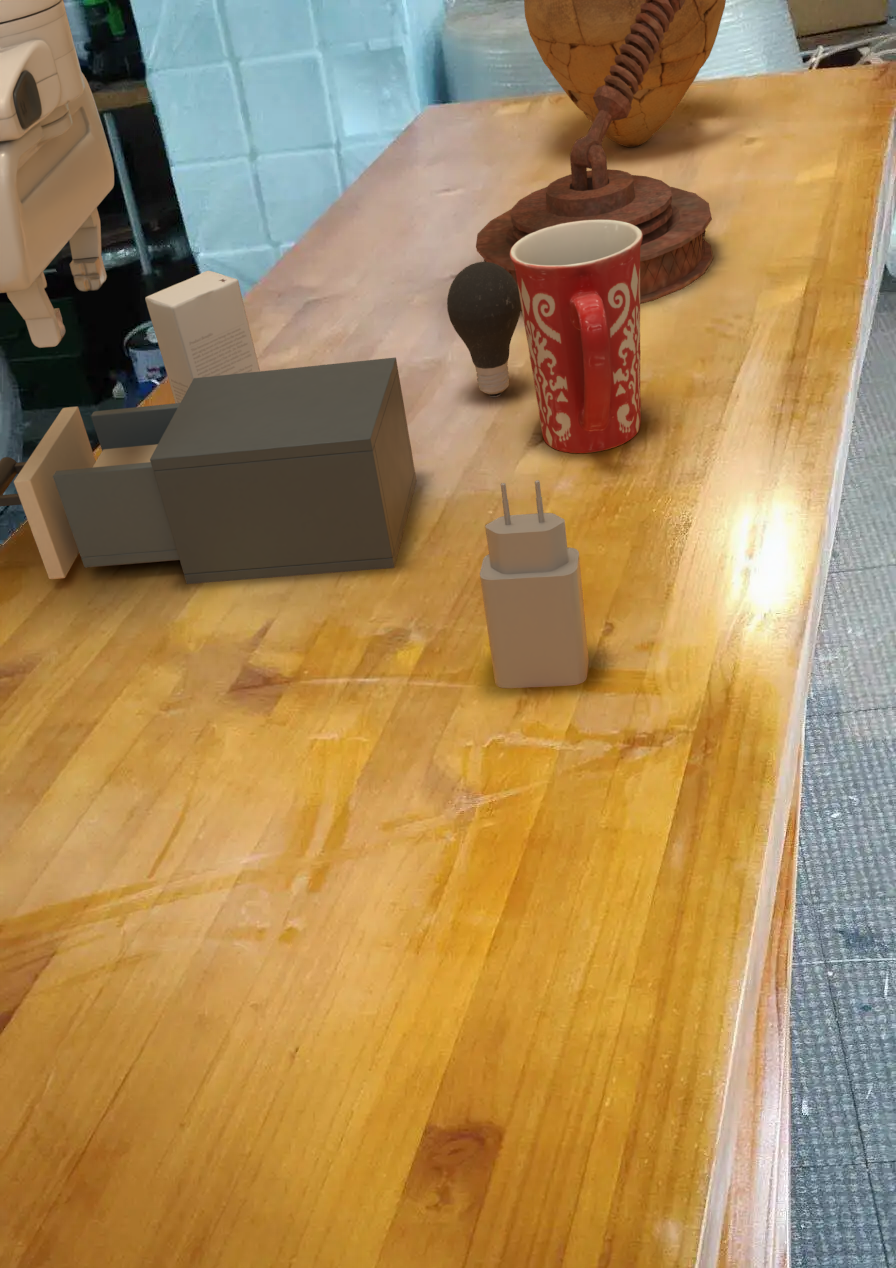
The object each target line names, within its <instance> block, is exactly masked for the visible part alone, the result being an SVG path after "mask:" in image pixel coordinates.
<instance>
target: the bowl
mask: <svg viewBox="0 0 896 1268" xmlns="http://www.w3.org/2000/svg"><path fill="white" fill-rule="evenodd" d="M645 1H646V0H523V4H524V5H523V7H524V8H523V9H524V17H525V22H526V26H527V29H528V33H529V36H530V38H531V40H532V42H533V44H534V46H535V48H536V50H537V52H538V54H539V56H540V58H541V60H542V62H543V64H544V65H545V66H546V67H547V69H548V70H549V71H550V73H551V75H552V77H553V78H554V80H556V82H557V83H558V85H559V86H560V87H561V88H562V90H563V91H564V92H565V94H566V95H567V96H568V98H569V99H570V100H571V101H572V102H573V103H574V105H575V106H576V107H577V108H578V110H580V111H581V112H582V113H583V114H584V115H585V117H586V118H587V120H589V122H590V123H591V125H592V124H593V122H594V120H595V118H596V116H597V114H598V112H599V111H598V109H597V107H596V105H595V102H594V99H593V96H594V94H595V92H596V90H597V88H598V87H601V86H603V85H605V81H604V79H605V77H606V76H607V75H611V73H610V66H612V65H616V63H615V56H617V55H621V54H620V50H619V48H620V46H621V45H622V44H626V43H625V37H626V36H627V35H628V34H629V33H631V30H630V26H631V25H633V24H636V21H635V19H636V15H637V14H639V13H640V6H641V4H642V3H646V2H645ZM726 2H727V0H686V1H685V3H684V4H683V6H682V8H681V9H680V10H678V11H677V12H676V13H675V15H674V19H673V22H671V23H670V25H669V30H668V31H667V32H665V33H664V40H663V41H662V42H661V43H659V50H658V51H657V52H656V53H655V54H654V60H653V61H652V62H651V63H650V64H649V67H648V71H647V72H646V73H645V75H643V78H644V80H643V82H642V83H641V84H640V85H638V89H639V90H638V91H637V93H636V94H634V95H633V100H632V104H631V110H630V112H629V114H628V116H627V118H624V119H621V120H614V121H612V122H611V124H610V126H609V128H608V130H607V132H606V134H605V136H604V137H606V138H607V139H609V140H611V141H613V142H615V143H616V144H619V145H621V146H623V147H627V148H636V147H638V146H641V145H643V144H644V143H647V142H648V141H649V140H650V139H651V138H652V137H653V136H654V135H655V134H656V133H657V132H658V131H659V130H660V128H662V126H663V125H664V124H666V123H667V121H668V120H669V119H670V118H671V116H672V115H673V113H674V111H675V110H676V109H677V107H678V106H679V104H680V102H681V101H682V100H683V98H684V97H685V95H686V93H687V91H688V90H689V88H690V87H691V85H693V83H694V81H695V79H696V78H697V76H698V74H699V72H700V71H701V69H702V68H703V67H704V65H705V64H706V62H707V60H709V57H710V55H711V53H712V50H713V47H714V46H715V42H716V40H717V37H718V33H719V29H720V25H721V22H722V18H723V15H724V11H725V8H726ZM645 57H646V55H645ZM639 67H641V66H639ZM634 77H635V76H634ZM635 78H636V77H635ZM629 87H630V88H631V86H629ZM625 97H626V96H625Z"/></svg>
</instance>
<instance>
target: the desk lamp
mask: <svg viewBox="0 0 896 1268" xmlns="http://www.w3.org/2000/svg"><path fill="white" fill-rule="evenodd" d="M685 1H686V0H646V1H645V2H646V3H642V4H641V6H640V13H639V14H637V15H636V19H635V21H636V24H633V25H631V26H630V30H631V33H629V34H628V35H627V36H626V37H625V43H626V44H622V45H621V46H620V48H619V50H620V54H621V55H617V56H615V63H616V65H612V66H610V73H611V75H607V76H606V77H605V79H604V81H605V85H603V86H601V87H598V88H597V90H596V92H595V94H594V96H593V99H594V102H595V105H596V107H597V109H598V111H599V112H598V114H597V116H596V118H595V120H594V122H593V124H592V123H591V126H590V128H589V130H588V132H587V134H586V135H585V136H582V137H580V138H577V139H576V140H575V142H574V143H573V145H572V147H571V150H570V153H569V161H570V162H569V163H570V174H567V175H565V176H562V177H560V178H559V177H558V178H557V179H556V180H554V181H552V182H550V183H549V184H548V185H547V186H546V187H543V188H540V189H537V190H535V191H533V192H531V193H529V194H528V195H526V196H524V197H522V198H520V199H519V200H518V201H517V202H516V203H515V204H514V205H513V207H512V208H511V209H508V210H506V211H505V212H503V213H501V214H499V215H498V216H496V217H495V218H493V219H491V220H489V222H487V224H485V226H484V227H482V229H480V230H479V232H478V233H477V235H476V243H475V249H476V252H477V253H478V254H479V255H480V256H481V257H482V259H483V262H491V263H494V264H497V265H499V266H501V267H503V268H504V269H505V270H506V271H508V272H509V273H510V274H511V276H512V277H513V278H514V280H515V281H516V284H517V286H518V283H517V277H516V271H515V266H514V264H513V262H512V260H511V258H510V250H511V248H512V246H513V245H514V244H515V243H516V242H517V241H519V240H520V239H521V238H523V237H525V236H527V235H529V234H531V233H533V232H535V231H538V230H541V229H544V228H547V227H551V226H555V225H559V224H563V223H569V222H576V221H584V220H615V221H622V222H626V223H630V224H632V225H634V226H636V227H638V228H639V229H640V230H641V232H642V234H643V239H642V243H641V247H640V305H641V304H645V303H649V302H653V301H655V300H658V299H660V298H664V297H666V296H668V295H670V294H672V293H675V292H678V291H680V290H682V289H684V288H685V287H687V286H689V285H690V284H692V283H693V282H694V281H696V280H697V279H699V278H701V277H702V276H703V275H704V274H705V273H706V271H707V269H708V268H709V267H710V265H711V264H712V262H713V260H714V257H713V252H712V247H711V245H710V243H709V242H707V241H706V229H707V228H708V226H709V225H710V223H711V221H712V220H713V216H712V212H711V206H710V203H709V202H708V201H707V200H705V199H704V198H703V197H701V196H700V195H698V194H697V193H695V192H692V191H688V190H686V189H685V190H684V189H681V188H677V187H675V186H670V185H668V184H667V183H666V182H665V181H663V180H661V179H658V178H654V177H650V176H647V175H638V174H637V175H636V174H631V173H630V172H628V171H623V170H619V169H611V168H608V163H607V162H608V161H607V155H606V152H605V150H604V148H603V141H604V139H605V137H606V136H605V134H606V132H607V130H608V128H609V126H610V124H611V122H612V121H614V120H621V119H624V118H627V116H628V114H629V112H630V110H631V104H632V100H633V95H634V94H636V93H637V91H638V90H639V89H638V85H640V84H641V83H642V82H643V80H644V78H643V75H645V73H646V72H647V71H648V67H649V64H650V63H651V62H652V61H653V60H654V54H655V53H656V52H657V51H658V50H659V43H661V42H662V41H663V40H664V33H665V32H667V31H668V30H669V25H670V23H671V22H673V19H674V15H675V13H676V12H677V11H678V10H680V9H681V8H682V6H683V4H684V3H685ZM645 55H646V57H645ZM639 66H641V67H639ZM634 76H635V77H636V78H635V77H634ZM629 86H631V88H630V87H629ZM625 96H626V97H625ZM587 169H591V170H587ZM520 312H522V308H521V311H520Z"/></svg>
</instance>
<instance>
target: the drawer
mask: <svg viewBox="0 0 896 1268" xmlns="http://www.w3.org/2000/svg"><path fill="white" fill-rule="evenodd" d="M179 405H180V403H175V402H174V403H165V404H154V405H146V406H145V405H144V406H135V407H125V408H124V407H123V408H114V409H105V410H96V411H95V410H94V411H93V412H92V414H91V415H90V419H91V421H92V424H93V427H94V430H95V433H96V436H97V439H98V443H99V446H100V449H101V451H102V450H103V449H113V448H124V447H134V446H145V445H155V444H158V443H159V442H160V440H161V438H162V436H163V434H164V432H165V430H166V429H167V427H168V425H169V423H170V421H171V419H172V418H173V416H174V414H175V412H176V410H177V408H178V407H179ZM95 462H96V458H95V455H94V451H93V449H92V444H91V442H90V439H89V435H88V433H87V430H86V427H85V424H84V420H83V418H82V415H81V411H80V408H79V406H69V407H62V409H61V410H60V412H59V413H58V415H57V416H56V418H55V419H54V420H53V422H52V424H51V425H50V426H49V428H48V429H47V430H46V432H45V434H44V435H43V437H42V438H41V440H40V441H39V443H38V444H37V446H36V447H35V449H34V450H33V451H32V453H31V454H30V456H29V458H28V459H27V460H26V461H20V462H17V461H16V460H15V459H14V458H12V457H10V456H5V457H2V458H1V459H0V507H7V506H8V507H10V506H22V508H23V512H24V514H25V516H26V519H27V522H28V525H29V527H30V528H29V529H30V530H31V533H32V536H33V539H34V542H35V544H36V547H37V550H38V552H39V555H40V557H41V561H42V563H43V566H44V569H45V571H46V574H47V578H48V579H49V580H57V579H65V578H66V577H67V576H68V574H69V571H70V569H72V566H73V564H74V563H75V561H76V559H77V557H78V555H79V557H80V559H81V562H82V565H83V567H84V568H98V567H110V566H121V565H135V564H146V563H157V562H158V563H159V562H171V561H180V559H179V556H178V552H177V549H176V546H175V542H174V539H173V536H172V532H171V529H170V525H169V522H168V519H167V515H166V512H165V509H164V505H163V502H162V498H161V495H160V492H159V488H158V485H157V481H156V478H155V475H154V471H153V469H152V465H151V462H146V463H136V464H125V465H114V466H104V467H93V465H94V464H95ZM92 467H93V468H92ZM12 482H13V484H14V487H15V490H16V492H17V493H8V494H5V492H6V491H7V489H8V488H9V486H10V485H11V483H12Z"/></svg>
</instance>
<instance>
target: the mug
mask: <svg viewBox="0 0 896 1268" xmlns="http://www.w3.org/2000/svg"><path fill="white" fill-rule="evenodd" d="M642 239H643V234H642V232H641V230H640V229H639V228H638V227H636V226H634V225H632V224H630V223H626V222H622V221H615V220H584V221H576V222H569V223H563V224H559V225H555V226H551V227H547V228H544V229H541V230H538V231H535V232H533V233H531V234H529V235H527V236H525V237H523V238H521V239H520V240H519V241H517V242H516V243H515V244H514V245H513V246H512V248H511V250H510V258H511V260H512V262H513V264H514V266H515V271H516V277H517V283H518V289H519V296H520V302H521V308H522V311H521V312H522V317H523V318H522V319H523V325H524V330H525V337H526V342H527V347H528V352H529V360H530V364H531V365H530V366H531V372H532V378H533V384H534V385H533V386H534V390H535V391H534V392H535V397H536V402H537V408H538V414H539V421H540V429H541V433H542V434H541V435H542V438H543V441H544V442H545V443H546V445H548V446H550V447H551V449H552V448H553V449H554V450H557V451H560V452H565V453H570V454H588V453H589V454H590V453H596V452H601V451H602V452H603V451H606V450H610V449H614V448H616V447H619V446H622V445H624V444H625V443H627V442H629V441H630V440H632V439H634V437H635V436H637V434H638V433H639V431H640V429H641V422H642V421H641V420H642V419H641V418H642V416H641V414H642V413H641V412H642V411H641V408H642V400H641V304H640V247H641V243H642Z"/></svg>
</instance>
